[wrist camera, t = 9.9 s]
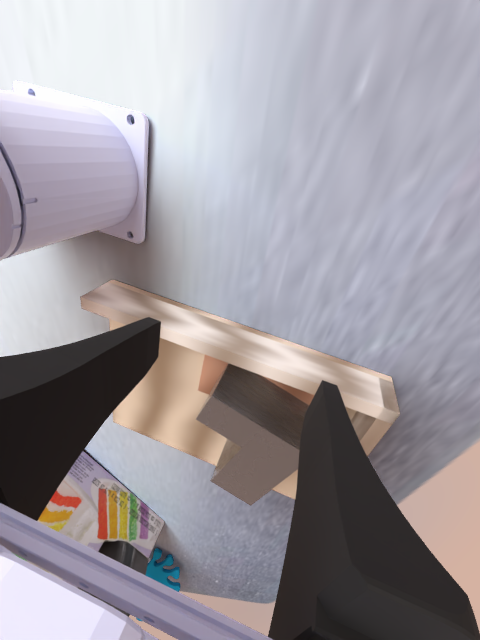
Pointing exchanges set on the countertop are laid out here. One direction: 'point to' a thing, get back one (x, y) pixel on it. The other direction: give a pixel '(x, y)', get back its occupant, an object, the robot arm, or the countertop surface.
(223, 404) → the bracket
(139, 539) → the cake pan box
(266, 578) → the countertop surface
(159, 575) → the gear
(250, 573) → the countertop surface
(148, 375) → the board
